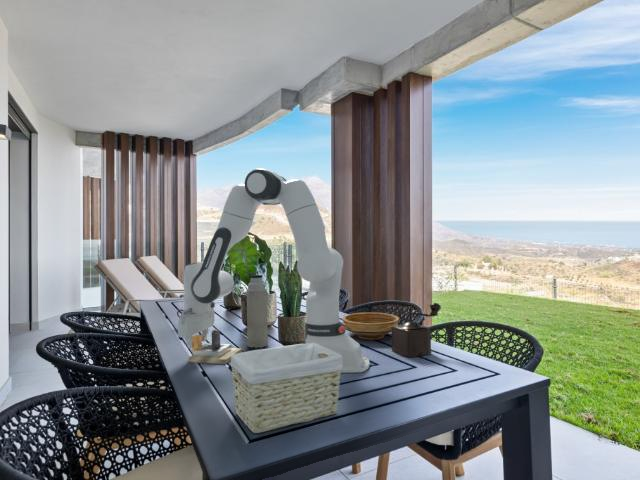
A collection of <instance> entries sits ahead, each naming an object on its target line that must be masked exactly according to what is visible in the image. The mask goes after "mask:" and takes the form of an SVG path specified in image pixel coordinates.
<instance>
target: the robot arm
mask: <svg viewBox="0 0 640 480" xmlns="http://www.w3.org/2000/svg"><path fill="white" fill-rule="evenodd" d="M260 205H264V206H268V205H269V206H270V205H271V206H272V205H273V206H274V205H275V206H276V205H281V206H282V208H283V210H284V213H285V216H286V219H287V222H288V224H289V227H290V231H291V232H292V235H293V239H294V244H295V250H296V256H297V263H296V269H297V273H298V275H299V276H300V277H301V279H302V280H305V281H306V282H308V283H309V288H308V293H307V296H306V298H305V309H306V310H305V318H306V319H305V321H306V322H305V323H304V336H305V344H309V343H316V344H318V345H321V346H323V347H325V348H328V349H330V350H332V351H334V352H336V353H338V354H341V355H342V357H343V359H342V370H341V374H342V373H344V374H346V373H363V372H366V371H367V370H368V369H369V368H370V359H369V358H367V357H365V356H364V354H363V350H362V349H363V348H362V346H361V345H360V343H359V342H357V341H356V340H355V339H354V338H352V337H351V336H349V335H348V334H347V333H346V328H345V323H343V322H341V321H340V293H341V292H340V290H341V282H342V272H343V267H344V259H343V256H342V254H341V253H340V252H338V250H336V249H335V248H332V247H329V246H328V242H327V241H328V240H327V236H326V227H325V226H326V225H325V223H324V220H323V218H322V215H321V213H320V212H321V211H320V210H319V207H318V204H317V202H316V200H315V197H314V195H313V194H312V192H311V189H310V188H309V187H308V184H307V183H306V182H305V181H304V180H301V179H298V178H297V179H291V180H287V179H286V178H284V176H282V175H280V174H278V173H277V172H274V171H272V170H268V169H266V168H256V169H252V170H251V171H250V172H248V174H247V175H246V176H245V179H244V183H239V184H236V185H234V186H233V187H232V188H231V190H230V192H229V194H228V196H227V197H226V201H225V203H224V205H223V210H222V211H221V212H222V213H221V216H220V219H219V223H218V224H217V228H216V230H215V232H214V234H213V235H212V238H211V241H210V243H209V246H208V249H207V252H206V254H205V256H204V258H203V259H204V260H203V261H198V262H197V261H196V262H192V263H188V264H187V265H186V266H184V267H185V268H184V269H183V270H184V271H183V290H184V296H183V310H184V311H182V312H181V314H180V315H179V316H180V318H179V317H178V318H179V319H178V325H177V326H178V328H177V336H178V337H179V338H182V339H183V338H184V339H185V341H186V344H187V345H186V346H187V349H192V347H194V342H192V336H194V335H197V334H198V333H200V332H201V335H202V342H206V341H208V334H209V328H212V327H214V323H215V307H216V302H215V301H216V300H219V299H221V298H223V297H227V296H228V295H230V294H231V293H232V291H234V287H235V280H234V277H233V276H232V274H231V273H229V272H228V271H225V270H222V269H223V268H222V267H223V266H224V265H223V264H224V263H225V259H226V257H227V254H228V252H229V251H230V250H231V248H233V246H235V245H236V244H237V243H239V242H240V241H242V240H244V239H245V238H246V237H247V236H248V235H249V232H250V230H251V228H252V225H253V222H254V219H255V215H256V211H257V209H258V207H259V206H260ZM318 359H321V358H320V357H319V356H318Z"/></svg>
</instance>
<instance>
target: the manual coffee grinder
mask: <svg viewBox="0 0 640 480" xmlns="http://www.w3.org/2000/svg"><path fill="white" fill-rule="evenodd" d="M429 308H430V313H427V314H426V313H423V312H421V313H420V312H413V307H411V306H409V307H408V312H407V313H408V317H409V318H408V319H409V320H408V321H406V322H403V324H398V325H397V326H392V332H391V352H393V353H395V354H398V355H400V356H403V357H405V358H409V359H410V358H417V357H422V356H426V355H429V354H432V340H431V338H432V337H431V335H432V334H431V332H432V331H431V327H427V326H424V325H420V324H419V323H418V322H416V321H413V316H420V317H421V316H422V317H427V318H430V317H432V318H434V317H438V313H439V311H441V309H442V306H441V304H440V303H436V302H432V303H430V304H429ZM412 315H413V316H412Z"/></svg>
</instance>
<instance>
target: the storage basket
mask: <svg viewBox="0 0 640 480" xmlns="http://www.w3.org/2000/svg"><path fill="white" fill-rule="evenodd" d="M318 356H319V357H320V358H321V359H318ZM342 359H343V357H342V355H341V354H338V353H336V352H334V351H332V350H330V349H328V348H325V347H323V346H321V345H318V344H316V343H309V344H306V343H298V344H292V345H290V344H289V345H282V346H278V347H277V346H276V347H270V348H269V347H268V348H262V349H254V350H248V351H244V352H243V351H242V353H238V354H233V355H232V356H231V361H230V366H231V372H232V379H233V380H232V381H233V382H232V383H233V389H234V390H233V391H234V392H233V393H234V406H235V407H234V408H235V413H236V414H237V416H238V417H239V418H240V419H241V421H242V422H243V424H244V425H245V426H247V428H248V429H249V430H251V432H252V433H253V434H260V433H265V432H268V431H271V430H276V429H280V428H284V427H288V426H291V425H296V424H299V423H306V422H310V421H313V420H317V419H319V418H324V417H328V416H331V415H332V416H333V415H335V414H337V413H338V407H339V404H338V402H339V397H340V396H339V394H340V391H339V389H340V384H341V383H340V382H341V381H340V380H341V374H342V373H341V370H342Z"/></svg>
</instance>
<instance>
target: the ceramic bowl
mask: <svg viewBox="0 0 640 480" xmlns="http://www.w3.org/2000/svg"><path fill="white" fill-rule="evenodd" d="M341 320H342V323H343V324H344V323H345V330H347V331H349V332H351V333H352V334H355V335H357V337H358V338H359V339H362V340H363V339H364V340H380V339H383V338H384V337H385V336H386V335H387V334H390V333H392V326H397V325H399V320H400V317H399V316H397V315H395V314H391V313H390V314H389V313H385V312H355V313H350V314H346V315H344V316H342V317H341Z"/></svg>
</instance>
